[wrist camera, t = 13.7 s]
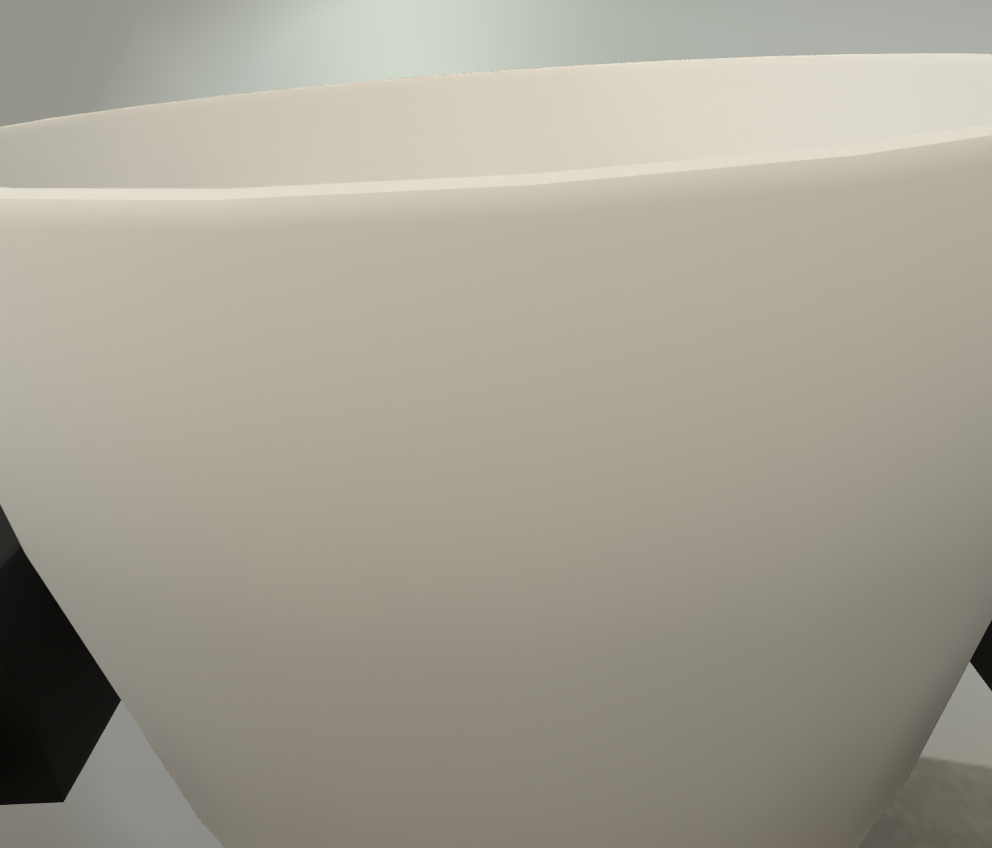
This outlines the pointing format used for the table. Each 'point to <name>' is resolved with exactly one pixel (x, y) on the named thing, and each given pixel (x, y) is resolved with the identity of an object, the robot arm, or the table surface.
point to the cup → (516, 441)
